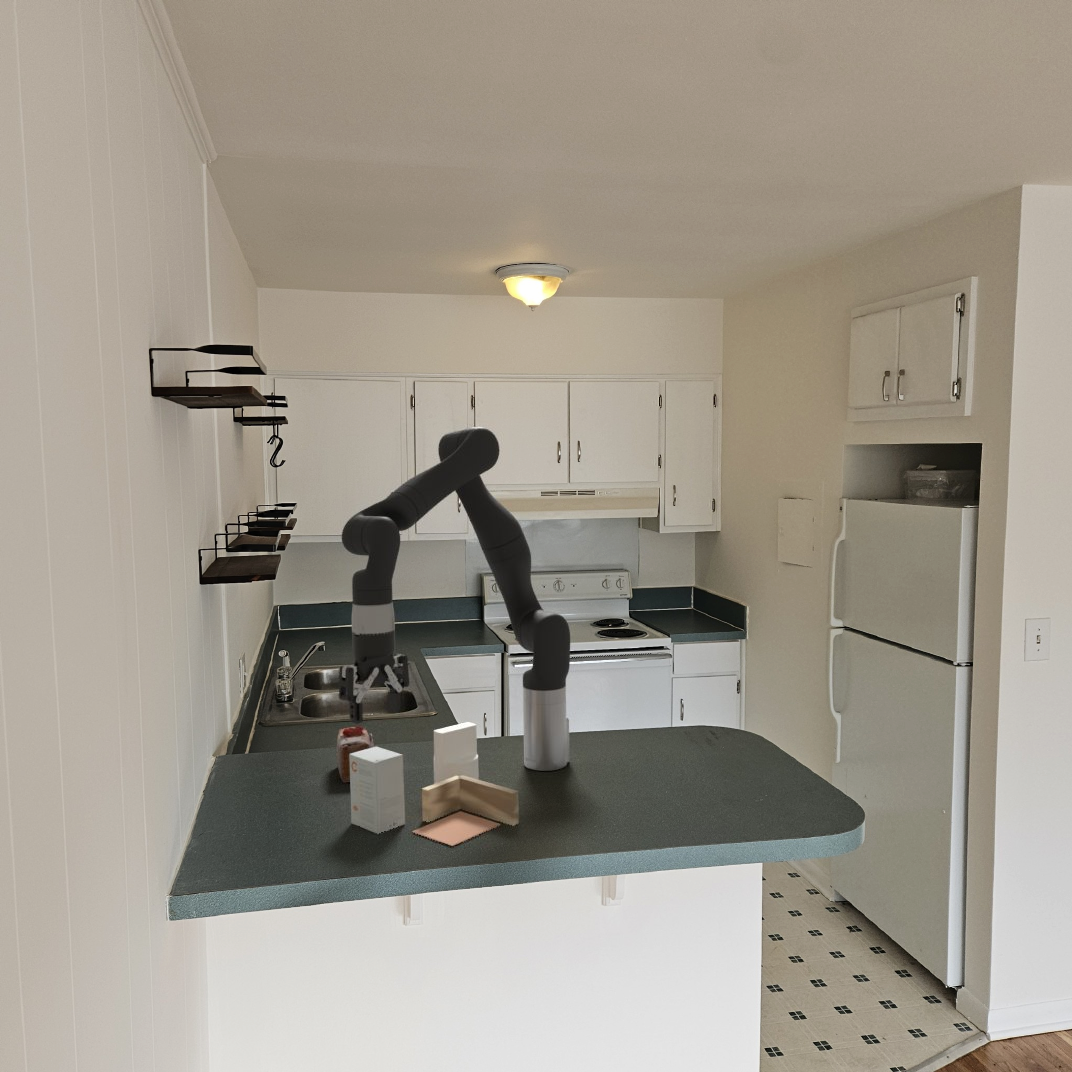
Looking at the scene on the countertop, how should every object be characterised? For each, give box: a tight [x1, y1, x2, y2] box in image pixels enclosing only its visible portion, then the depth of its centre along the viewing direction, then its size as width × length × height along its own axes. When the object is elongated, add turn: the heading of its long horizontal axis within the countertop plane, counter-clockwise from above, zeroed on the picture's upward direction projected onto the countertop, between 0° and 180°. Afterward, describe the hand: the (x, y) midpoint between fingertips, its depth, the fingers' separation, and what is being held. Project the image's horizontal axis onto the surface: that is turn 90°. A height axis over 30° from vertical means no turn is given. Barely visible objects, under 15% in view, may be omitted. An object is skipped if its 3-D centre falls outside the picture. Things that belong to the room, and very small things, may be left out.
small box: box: [349, 746, 406, 835], centre depth 168 cm, size 8×6×13 cm
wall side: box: [421, 776, 461, 823], centre depth 172 cm, size 9×2×6 cm, turn 140°
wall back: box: [458, 775, 520, 827], centre depth 171 cm, size 2×14×6 cm, turn 50°
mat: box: [411, 810, 501, 847], centre depth 165 cm, size 12×10×1 cm
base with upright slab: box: [433, 721, 480, 784], centre depth 188 cm, size 9×9×12 cm
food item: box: [335, 725, 375, 784], centre depth 197 cm, size 14×8×10 cm, turn 15°
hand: (375, 717), depth 167 cm, fingers open, 8 cm apart
